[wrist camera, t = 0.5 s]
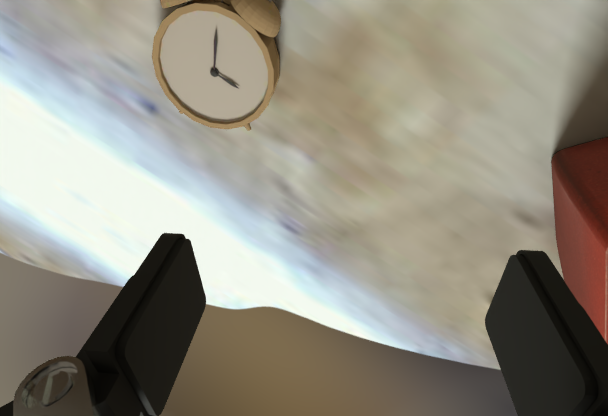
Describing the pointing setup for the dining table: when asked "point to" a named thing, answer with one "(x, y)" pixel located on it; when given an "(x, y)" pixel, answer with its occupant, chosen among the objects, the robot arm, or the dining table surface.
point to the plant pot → (584, 225)
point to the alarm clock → (218, 59)
